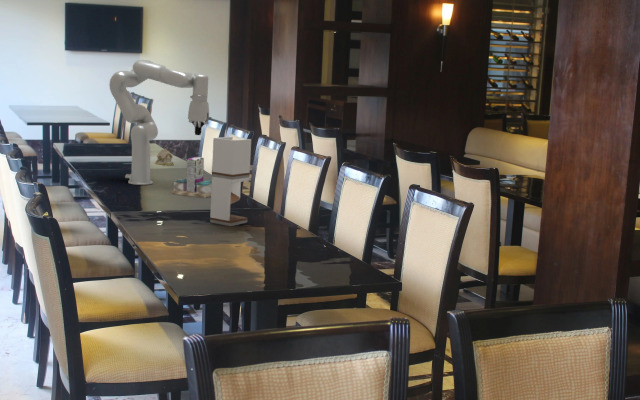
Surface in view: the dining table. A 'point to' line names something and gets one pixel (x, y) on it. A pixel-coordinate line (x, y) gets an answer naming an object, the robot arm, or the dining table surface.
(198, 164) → the candy bar box
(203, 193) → the rail board
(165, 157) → the ceramic model
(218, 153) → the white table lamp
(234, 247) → the dining table surface
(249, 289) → the dining table surface
